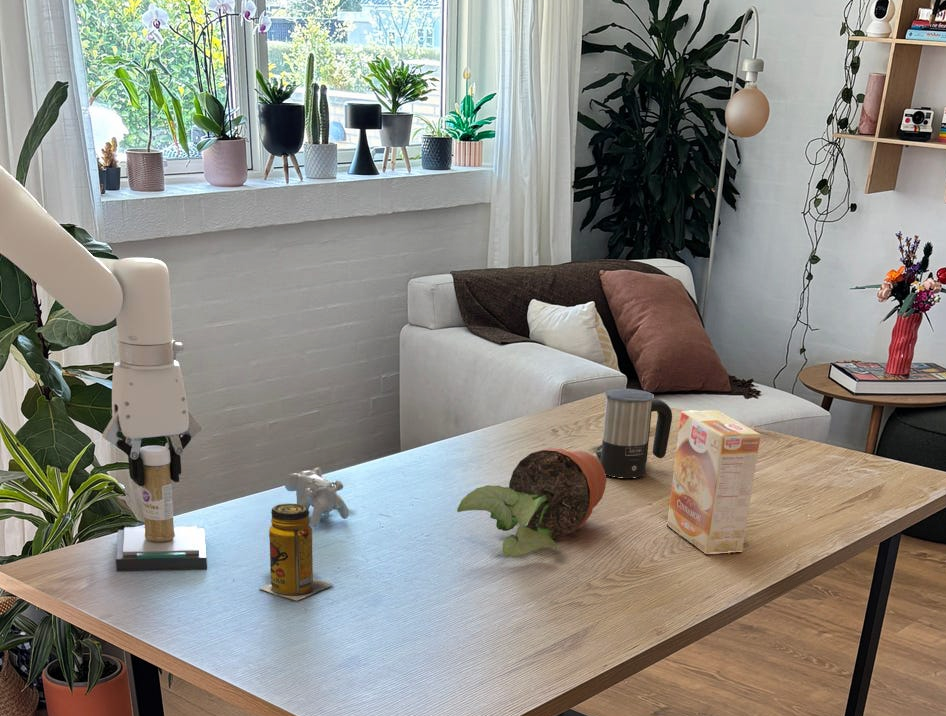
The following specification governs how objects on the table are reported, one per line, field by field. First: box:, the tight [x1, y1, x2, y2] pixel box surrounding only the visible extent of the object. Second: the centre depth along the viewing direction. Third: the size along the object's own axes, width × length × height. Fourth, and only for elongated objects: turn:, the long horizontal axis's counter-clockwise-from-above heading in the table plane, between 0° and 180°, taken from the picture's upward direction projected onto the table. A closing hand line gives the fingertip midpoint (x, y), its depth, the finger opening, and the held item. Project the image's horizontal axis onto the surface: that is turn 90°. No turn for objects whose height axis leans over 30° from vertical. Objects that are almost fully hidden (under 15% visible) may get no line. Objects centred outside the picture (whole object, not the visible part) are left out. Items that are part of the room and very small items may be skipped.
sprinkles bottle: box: [139, 445, 175, 542], centre depth 193 cm, size 5×5×13 cm
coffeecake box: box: [666, 409, 762, 553], centre depth 212 cm, size 15×7×20 cm, turn 18°
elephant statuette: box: [284, 466, 350, 528], centre depth 213 cm, size 9×12×8 cm
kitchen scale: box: [115, 525, 208, 572], centre depth 196 cm, size 13×13×2 cm
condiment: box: [258, 503, 335, 602], centre depth 185 cm, size 7×8×12 cm
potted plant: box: [456, 447, 607, 558], centre depth 206 cm, size 16×15×35 cm
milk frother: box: [595, 388, 673, 478], centre depth 248 cm, size 14×16×15 cm
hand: (156, 480), depth 192 cm, fingers closed on sprinkles bottle, 4 cm apart
